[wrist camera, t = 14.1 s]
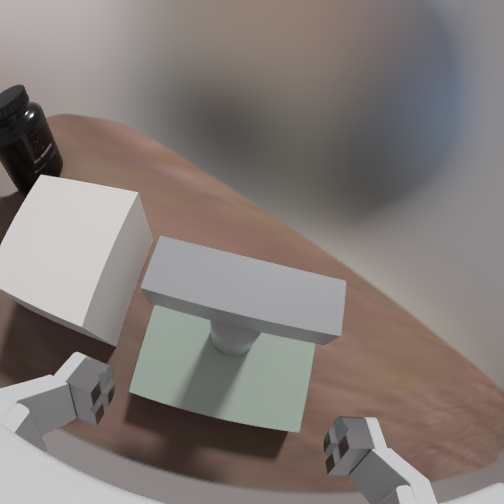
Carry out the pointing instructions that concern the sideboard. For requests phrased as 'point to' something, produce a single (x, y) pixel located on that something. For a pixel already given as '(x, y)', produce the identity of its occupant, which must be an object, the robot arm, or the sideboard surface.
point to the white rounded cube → (76, 255)
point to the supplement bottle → (26, 140)
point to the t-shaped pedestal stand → (233, 334)
